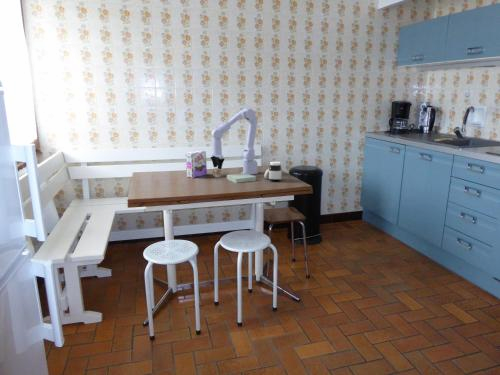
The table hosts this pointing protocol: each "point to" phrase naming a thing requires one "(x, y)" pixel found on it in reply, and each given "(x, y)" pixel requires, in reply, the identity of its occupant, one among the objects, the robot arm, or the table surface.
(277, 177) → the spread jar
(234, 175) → the sage box
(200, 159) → the candy box
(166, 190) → the table surface
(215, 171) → the beech block
